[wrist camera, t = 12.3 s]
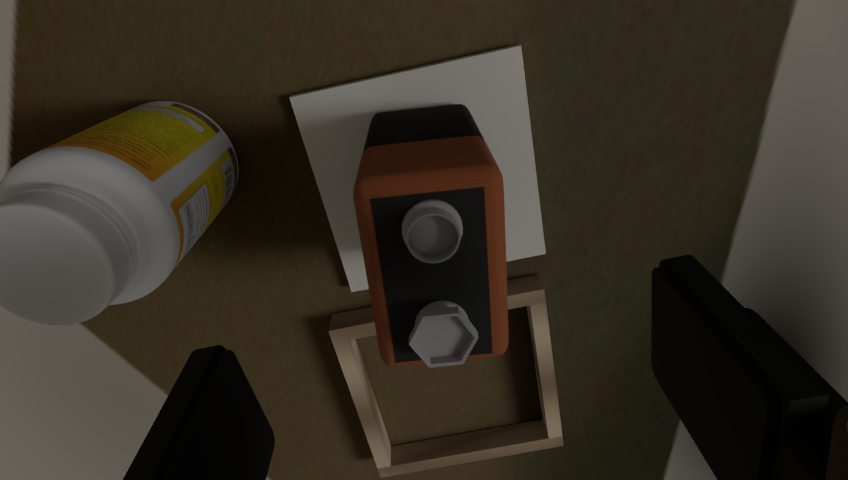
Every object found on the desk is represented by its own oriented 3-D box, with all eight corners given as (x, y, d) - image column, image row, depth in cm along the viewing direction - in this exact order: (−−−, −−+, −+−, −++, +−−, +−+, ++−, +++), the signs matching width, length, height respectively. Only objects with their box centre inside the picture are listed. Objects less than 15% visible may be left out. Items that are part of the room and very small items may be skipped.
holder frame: (331, 314, 28) (328, 331, 26) (537, 274, 27) (544, 289, 26) (381, 457, 32) (380, 477, 31) (556, 426, 32) (563, 445, 30)
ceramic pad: (292, 94, 23) (289, 97, 22) (518, 44, 22) (520, 45, 21) (352, 286, 27) (351, 292, 26) (542, 248, 26) (545, 253, 26)
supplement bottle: (91, 123, 23) (-119, 215, 14) (203, 79, 22) (60, 144, 13) (161, 230, 25) (21, 369, 16) (264, 193, 25) (179, 317, 15)
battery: (389, 249, 25) (379, 393, 16) (368, 110, 22) (344, 194, 13) (477, 240, 25) (516, 379, 16) (468, 100, 22) (512, 176, 13)
